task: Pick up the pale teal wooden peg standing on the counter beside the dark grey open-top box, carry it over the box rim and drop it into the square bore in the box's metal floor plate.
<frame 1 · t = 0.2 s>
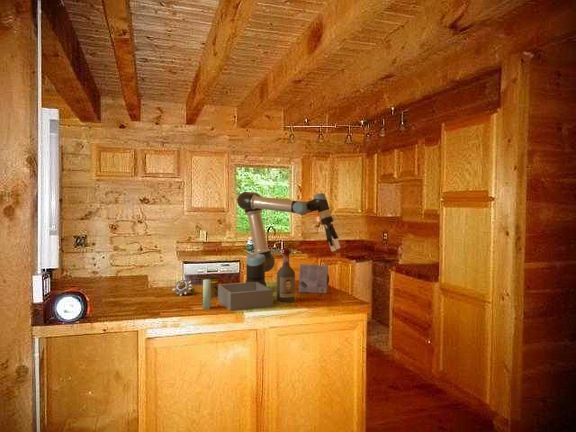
hand: (336, 249, 247), 28 cm above the countertop, tool tilted 20°, fingers open, 13 cm apart
passion flower: (184, 295, 240), on the countertop
liquor: (285, 300, 229), on the countertop
cake pan box: (313, 292, 252), on the countertop
peg: (206, 308, 210), on the countertop
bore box: (244, 303, 221), on the countertop
condiment: (211, 296, 236), on the countertop
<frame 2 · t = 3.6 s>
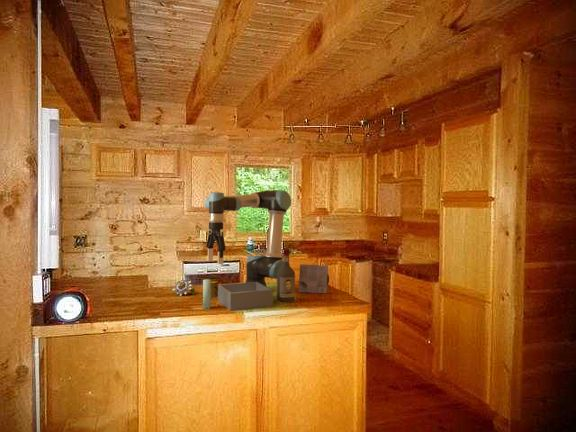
hand: (215, 262, 207), 25 cm above the countertop, tool pointing down, fingers open, 13 cm apart
nothing on the countertop moved.
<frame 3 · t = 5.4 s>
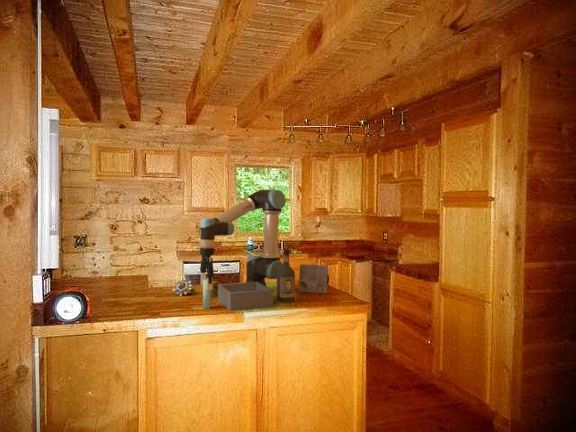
hand: (206, 287, 209), 11 cm above the countertop, tool pointing down, fingers open, 13 cm apart
nothing on the countertop moved.
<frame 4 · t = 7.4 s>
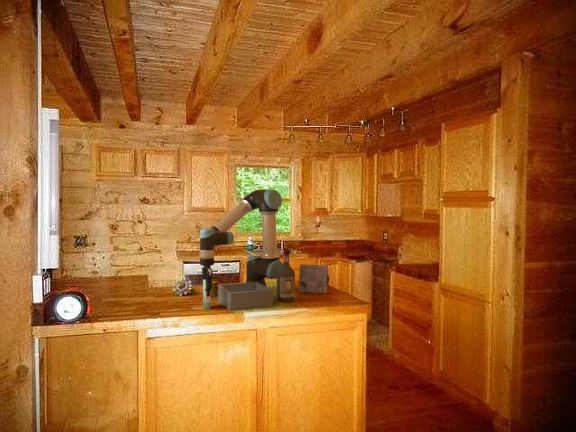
hand: (206, 301, 210), 4 cm above the countertop, tool pointing down, fingers closed on peg, 4 cm apart
peg: (206, 308, 210), on the countertop, touching gripper
everything else where it was.
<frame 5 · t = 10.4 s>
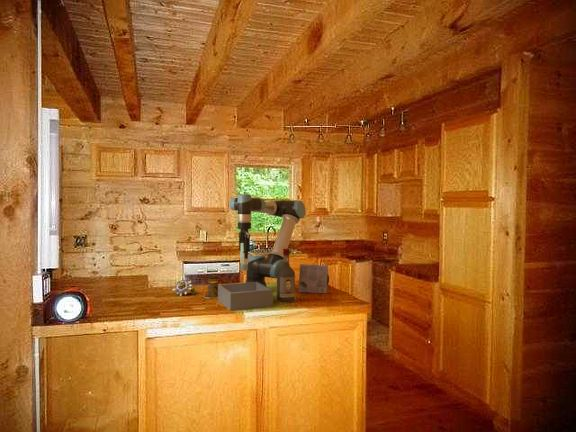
hand: (244, 263, 220), 22 cm above the countertop, tool pointing down, fingers closed on peg, 4 cm apart
peg: (244, 269, 220), point 19 cm above the countertop, touching gripper
everything else where it was.
when the fingers open (6 cm above the countertop, at t = 13.6 s): peg drops 2 cm, resting in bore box.
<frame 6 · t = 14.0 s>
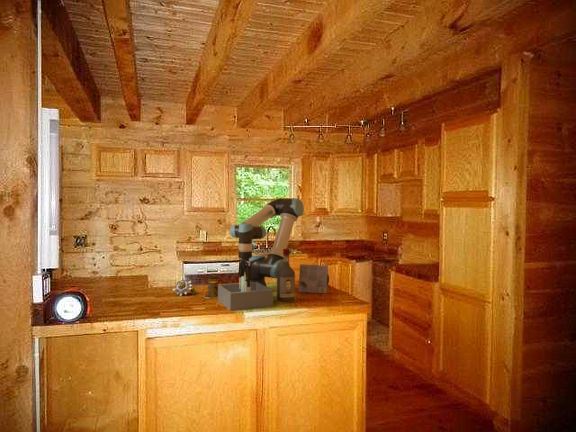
hand: (244, 290, 221), 7 cm above the countertop, tool pointing down, fingers open, 9 cm apart
peg: (244, 303, 221), resting in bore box
everything else where it was.
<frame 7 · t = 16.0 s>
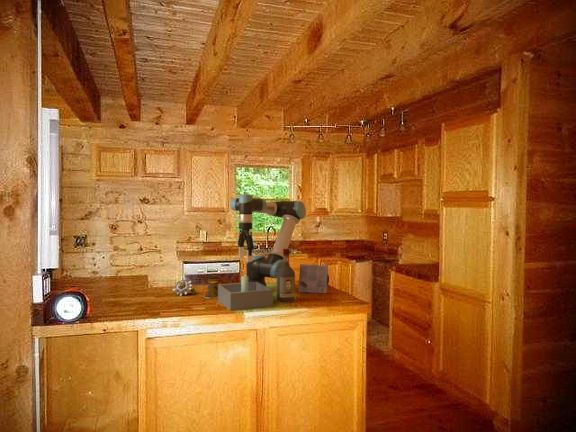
hand: (245, 260, 221), 24 cm above the countertop, tool pointing down, fingers open, 13 cm apart
nothing on the countertop moved.
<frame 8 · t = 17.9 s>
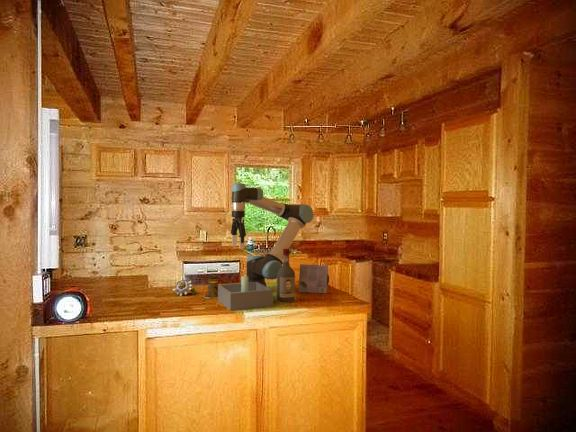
hand: (237, 247, 226), 31 cm above the countertop, tool pointing down, fingers open, 13 cm apart
nothing on the countertop moved.
at the end: peg 0.0 cm off-centre on the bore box, point 0.0 cm above the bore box's base; peg tilted 0°; the gripper is holding nothing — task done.
